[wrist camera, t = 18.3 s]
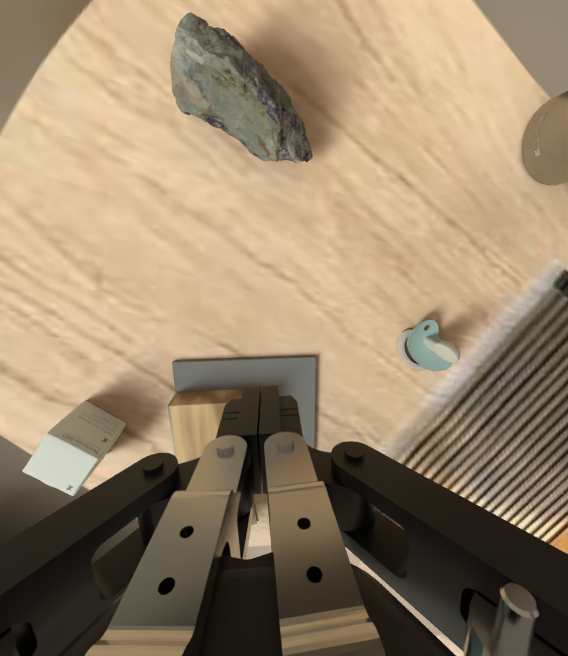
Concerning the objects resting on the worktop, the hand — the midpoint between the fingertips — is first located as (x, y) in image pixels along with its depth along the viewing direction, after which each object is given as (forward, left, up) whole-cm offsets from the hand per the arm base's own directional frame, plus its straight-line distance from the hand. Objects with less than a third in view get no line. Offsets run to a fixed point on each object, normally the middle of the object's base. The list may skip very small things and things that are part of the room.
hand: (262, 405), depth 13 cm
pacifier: (-21, +6, -25) cm, 33 cm away
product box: (+22, +16, -25) cm, 37 cm away
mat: (+2, +15, -25) cm, 29 cm away
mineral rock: (+1, -19, -25) cm, 32 cm away
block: (0, +15, -23) cm, 27 cm away
